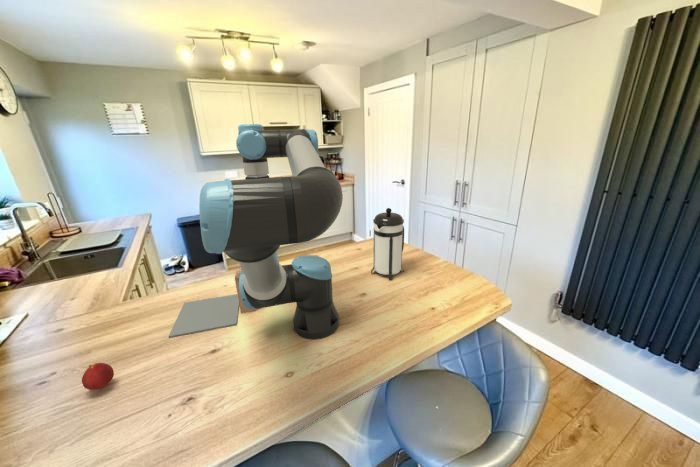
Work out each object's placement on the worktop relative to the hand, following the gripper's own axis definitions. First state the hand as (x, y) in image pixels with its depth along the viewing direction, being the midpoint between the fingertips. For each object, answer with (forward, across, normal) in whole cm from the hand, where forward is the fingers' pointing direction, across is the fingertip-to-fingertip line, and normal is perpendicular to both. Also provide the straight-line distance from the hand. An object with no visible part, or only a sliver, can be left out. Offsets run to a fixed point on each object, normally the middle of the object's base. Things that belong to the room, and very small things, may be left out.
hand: (266, 243), depth 98 cm
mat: (+24, +22, 0) cm, 33 cm away
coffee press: (+24, -51, -9) cm, 57 cm away
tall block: (+24, +9, 0) cm, 25 cm away
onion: (+24, +43, +26) cm, 56 cm away
